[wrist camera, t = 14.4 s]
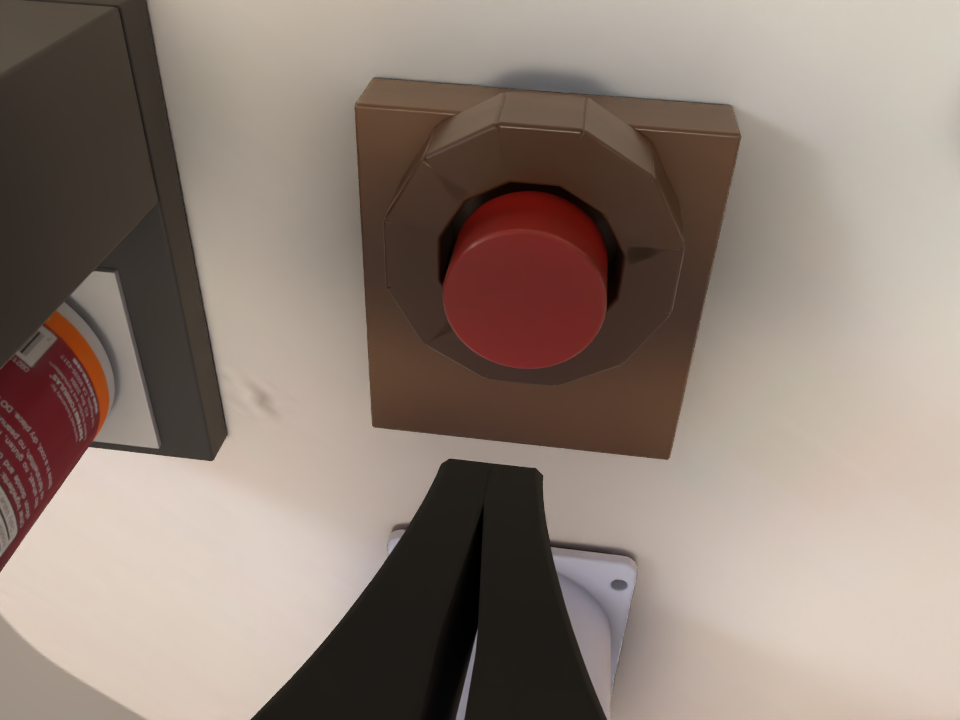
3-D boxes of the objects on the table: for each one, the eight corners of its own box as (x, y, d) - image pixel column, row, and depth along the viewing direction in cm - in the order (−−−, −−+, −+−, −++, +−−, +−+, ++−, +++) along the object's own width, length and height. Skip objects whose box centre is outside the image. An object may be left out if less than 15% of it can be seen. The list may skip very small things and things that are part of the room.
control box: (666, 419, 24) (672, 511, 22) (384, 389, 25) (355, 474, 22) (738, 78, 19) (760, 143, 16) (370, 51, 19) (328, 109, 16)
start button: (598, 329, 19) (596, 378, 18) (454, 315, 19) (441, 362, 18) (617, 196, 17) (617, 238, 16) (456, 182, 17) (441, 222, 16)
